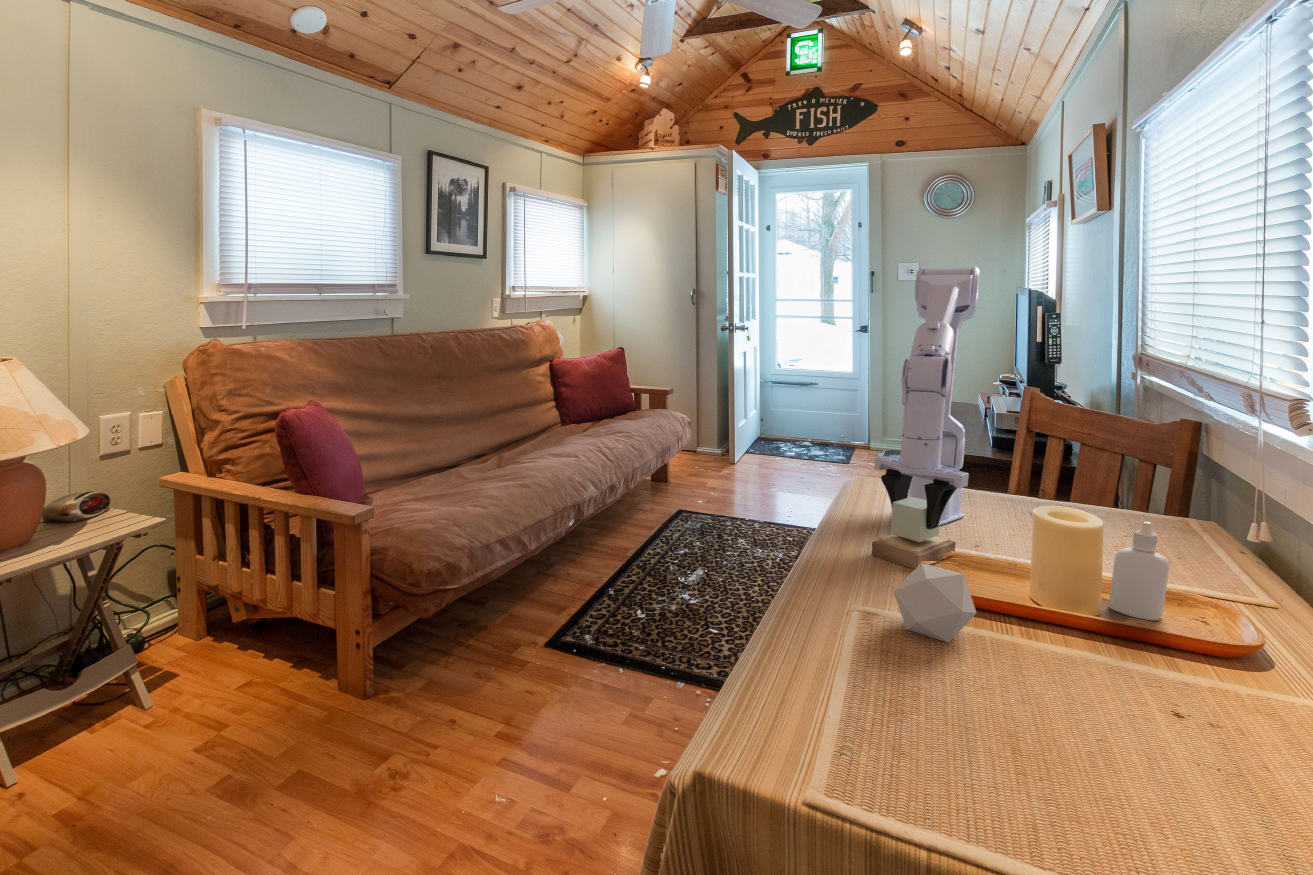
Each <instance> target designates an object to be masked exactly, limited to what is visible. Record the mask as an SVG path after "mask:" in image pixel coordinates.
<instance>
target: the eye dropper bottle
mask: <svg viewBox="0 0 1313 875" xmlns="http://www.w3.org/2000/svg"><path fill="white" fill-rule="evenodd" d="M1157 543H1158V534H1157V533H1156V532H1155V531H1153V530H1152V522H1149V521H1144V522H1143V523H1142V527H1141V529H1138V530H1135V531H1134V532H1133V539H1132V546H1131V547H1124V548H1121V549H1119V550H1118V551H1117V552H1116V554H1115V557H1114V564H1113V568H1112V570H1113V571H1112V577H1111V584H1110V585H1111V586H1110V591H1109V600H1108V607H1109V609H1111V610H1112V611H1115V612H1117V613H1120V614H1123V615H1126V616H1129V617H1133V618H1137V619H1141V620H1147V621H1156V622H1157V621H1159V620H1160V619H1161V617H1163V613H1164V607H1165V600H1166V594H1167V588H1168V581H1169V580H1168V579H1169V573H1170V564H1171V563H1170V561H1169V559H1168V558H1167V557H1165V556H1164V555H1163V554H1161V553H1158V552H1156V550H1157Z"/></svg>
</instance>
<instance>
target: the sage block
mask: <svg viewBox="0 0 1313 875" xmlns="http://www.w3.org/2000/svg"><path fill="white" fill-rule="evenodd" d="M891 510H892V511H891V525H890V535H892V534H895V535H898V536H901V537H905V538H908V539H911V540H915V541H918V542H921V541H924V540H927V539H929V538H932V537H935V536H940V534H939V533H940V526H939V524H938V527H937V528H934V529H927V528H926V515H927V500H923V499H919V498H915V497H909V496H908V498H906V499H902V500H899V501H895V502H893V506H892V505H891ZM939 523H940V521H939Z"/></svg>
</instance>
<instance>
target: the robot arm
mask: <svg viewBox="0 0 1313 875" xmlns="http://www.w3.org/2000/svg"><path fill="white" fill-rule="evenodd" d="M980 272H981V271H980V269H979V268H978V267H977V266H973V267H971V266H970V267H925V266H922V267H920V268H919V269H918V270H917V271H916V274H915V281H914V282H915V283H914V299H915V300H914V301H915V303H916V311H917V313H918V316H919V318H922V319H924V320H925V322H923V323H922V324H920V325H919V326H918V327H917V328H916V330H915V334H914V338H913V342H912V347H911V352H910V355H909V359H907V358H905V359H904V361H903V363H902V364H903V365H902V368H901V369H902V371H901V381H900V382H901V390H902V392H901V393H902V396H901V397H902V399H901V404H902V406H903V416H902V428H901V443H900V457H893V456H887V455H880V456H875V457H874V470H878V471H881V470H883V471H886V472H885V473H884V474H882V475H881V479H880V480H881V482H882V484H883V485H884V487H885V490H886V492H887V495H888V498H889V500H890V504H891V507H892V506H893V502H895V501H899V500H902V499H906V498H909V497H915V498H919V499H923V500H927V515H926V528H927V529H934V528H937V527H938V524H939V527H940V526H942V525H944V524H945V525H946V524H947V523H950V522H953V521H957V520H959V519H961V518H964V517H965V513H961V504H962V494H963V488H966V487H968V486H969V485H968V484H969V475H970V474H969V473H968V472H965V471H961V470H960V469H962V468H963V465H964V457H965V450H966V436H965V435H966V430H965V426H964V425H963V424H962V423H961V422H959V421H958V420H957V419H955V418H954V417H953V415H951V411H952V410H951V408H952V398H953V388H954V380H955V368H956V359H957V348H958V339H959V333H960V330H961V327H962V325H963V323H964V322H966V321H969V320H970V319H972V318H974V317H975V313H976V312H977V303H978V297H979V289H980V288H979V287H980V278H981V273H980ZM944 432H947V433H948V432H949V433H953V434H949V433H948V434H946V433H944ZM939 521H940V523H939Z"/></svg>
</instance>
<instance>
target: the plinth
mask: <svg viewBox="0 0 1313 875" xmlns="http://www.w3.org/2000/svg"><path fill="white" fill-rule="evenodd" d="M951 551H955V552H956V541H954V540H951V538H949V537H948V538H947V537H944V536H940V535H938V536H935V537H932V538H929V539H927V540H924V541H921V542H918V541H915V540H911V539H908V538H905V537H901V536H898V535H895V534H890V535H886V536H884V537H881V538H878V539H875V540H873V541H872V542H871V556H873V557H877V558H879V559H883V560H886V561H888V562H892V563H894V564H898V565H900V566H904V567H907V568H909V569H912V570H915V569H916V568H917V567H918V565H919V563H920V562H921V561H939V560H940V559H942V558H943V556H944V554H946V553H947V552H951Z"/></svg>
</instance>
